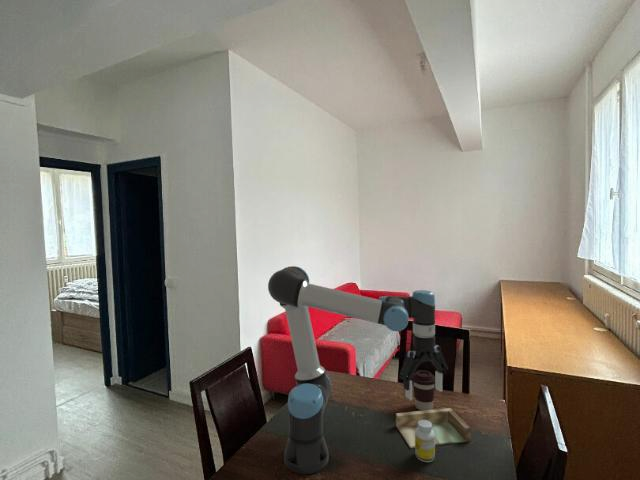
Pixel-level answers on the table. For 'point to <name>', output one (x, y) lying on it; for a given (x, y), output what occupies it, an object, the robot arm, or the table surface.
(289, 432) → the robot arm
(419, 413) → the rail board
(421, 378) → the coffee cup
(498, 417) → the table surface
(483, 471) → the table surface
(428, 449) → the pill bottle
